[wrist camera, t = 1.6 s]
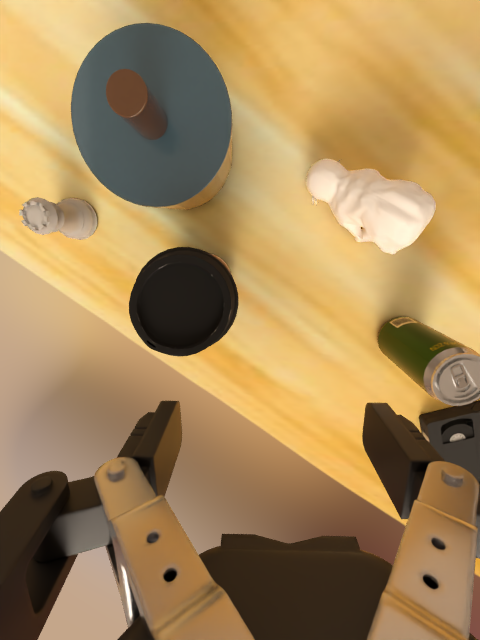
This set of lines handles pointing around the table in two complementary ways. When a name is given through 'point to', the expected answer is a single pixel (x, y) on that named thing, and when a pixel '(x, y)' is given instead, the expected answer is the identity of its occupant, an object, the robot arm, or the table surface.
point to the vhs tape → (455, 435)
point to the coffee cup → (183, 301)
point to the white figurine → (372, 204)
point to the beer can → (432, 360)
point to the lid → (151, 115)
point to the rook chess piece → (60, 217)
